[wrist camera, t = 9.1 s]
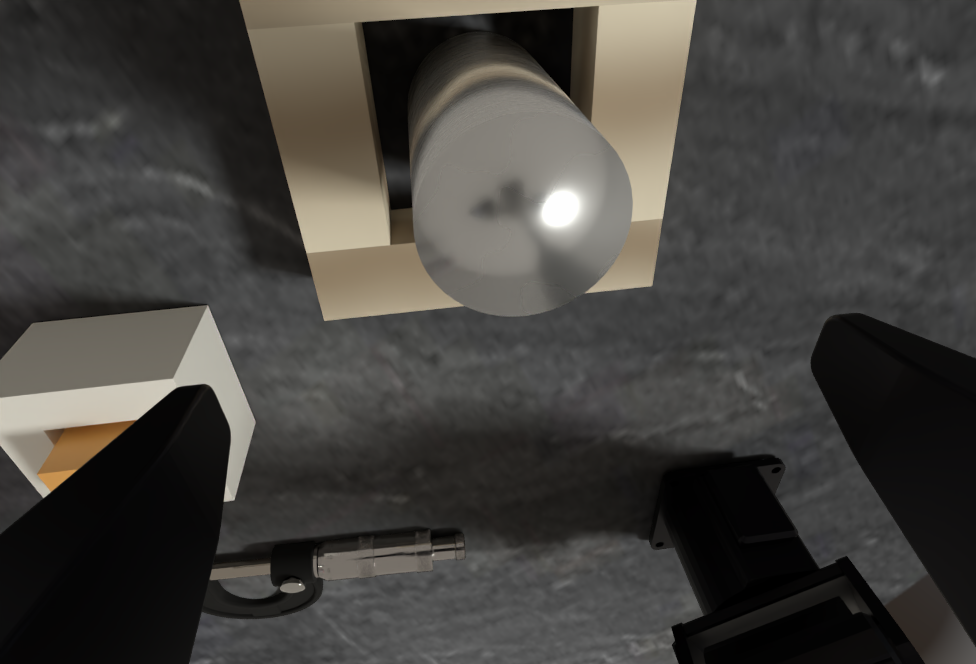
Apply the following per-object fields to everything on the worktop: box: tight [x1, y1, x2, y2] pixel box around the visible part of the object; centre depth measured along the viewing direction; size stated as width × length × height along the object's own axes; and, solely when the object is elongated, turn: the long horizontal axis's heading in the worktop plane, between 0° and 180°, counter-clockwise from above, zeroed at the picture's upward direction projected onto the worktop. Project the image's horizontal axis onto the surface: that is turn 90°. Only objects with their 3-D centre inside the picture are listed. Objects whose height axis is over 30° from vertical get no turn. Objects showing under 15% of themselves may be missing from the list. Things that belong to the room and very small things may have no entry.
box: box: [0, 305, 256, 502], centre depth 21 cm, size 6×6×4 cm
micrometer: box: [202, 529, 466, 619], centre depth 31 cm, size 15×7×2 cm, turn 89°
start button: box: [37, 420, 136, 492], centre depth 19 cm, size 2×2×3 cm
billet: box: [407, 32, 633, 317], centre depth 15 cm, size 4×4×8 cm
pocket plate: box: [239, 0, 696, 321], centre depth 17 cm, size 11×11×2 cm
